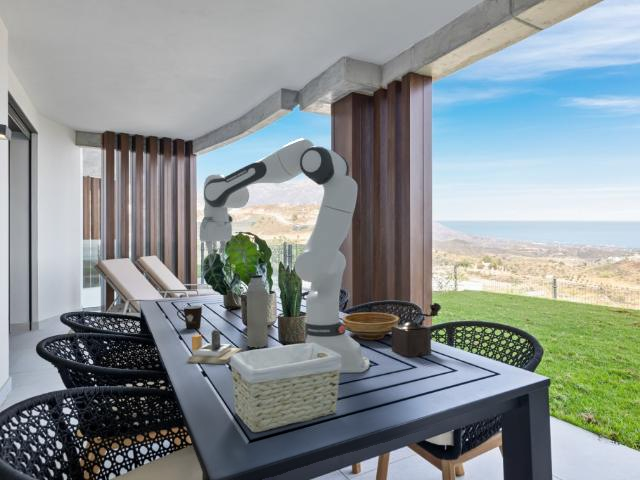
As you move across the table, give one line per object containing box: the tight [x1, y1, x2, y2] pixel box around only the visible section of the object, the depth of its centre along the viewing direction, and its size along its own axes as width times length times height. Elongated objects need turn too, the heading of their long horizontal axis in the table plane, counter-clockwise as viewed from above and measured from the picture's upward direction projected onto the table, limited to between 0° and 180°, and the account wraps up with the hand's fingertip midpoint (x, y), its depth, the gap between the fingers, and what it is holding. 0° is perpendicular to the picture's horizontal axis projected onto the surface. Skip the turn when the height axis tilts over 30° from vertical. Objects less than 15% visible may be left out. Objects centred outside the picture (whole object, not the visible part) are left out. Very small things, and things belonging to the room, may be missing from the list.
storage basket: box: [229, 342, 342, 433], centre depth 101 cm, size 24×16×15 cm
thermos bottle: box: [246, 274, 269, 348], centre depth 165 cm, size 8×8×28 cm
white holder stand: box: [191, 334, 232, 357], centre depth 150 cm, size 12×10×6 cm
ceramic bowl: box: [341, 312, 400, 340], centre depth 176 cm, size 30×24×8 cm
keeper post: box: [188, 328, 243, 365], centre depth 149 cm, size 14×14×10 cm
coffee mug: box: [176, 305, 203, 330], centre depth 200 cm, size 12×9×10 cm
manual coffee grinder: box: [391, 302, 442, 359], centre depth 152 cm, size 16×11×18 cm
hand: (216, 253), depth 160 cm, fingers open, 8 cm apart
